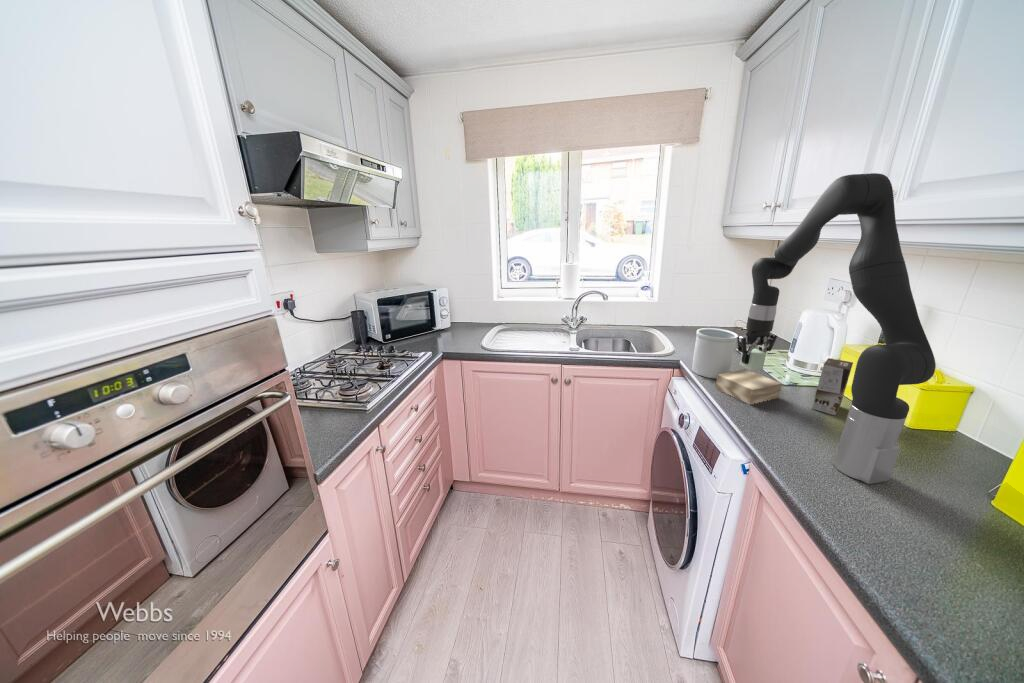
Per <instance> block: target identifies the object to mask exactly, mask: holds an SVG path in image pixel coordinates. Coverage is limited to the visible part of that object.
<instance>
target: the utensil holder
mask: <svg viewBox="0 0 1024 683" xmlns="http://www.w3.org/2000/svg"><path fill="white" fill-rule="evenodd" d="M695 334H696V338H695V344H694V349H693V350H694V351H693V356H692V359H693V360H692V364H691V370H692V372H693V373H694V374H696V375H698V376H701V377H705V378H709V379H717V376H718V375H719V374H724V373H729V372H731V371H730V370H731V367H732V364H733V363H732V362H733V358H734V353H735V349H736V346H737V345H736V344H737V341H738V339H737V338H738V336H739V335H738V334H737V333H735V331H734V332H733V331H731V330H728V329H722V328H715V327H713V328H712V327H704V328H702V327H701V328H699V329H697V330H696V333H695Z"/></svg>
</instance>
